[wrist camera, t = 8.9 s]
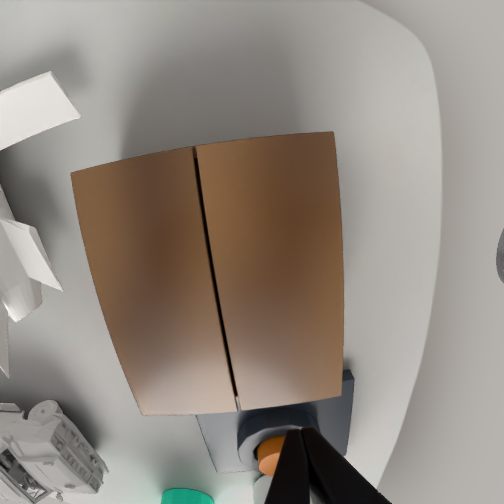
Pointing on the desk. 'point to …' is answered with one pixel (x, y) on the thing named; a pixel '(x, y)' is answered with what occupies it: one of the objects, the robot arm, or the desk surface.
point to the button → (269, 454)
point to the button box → (274, 427)
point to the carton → (157, 280)
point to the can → (263, 489)
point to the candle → (185, 497)
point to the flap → (278, 263)
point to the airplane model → (3, 223)
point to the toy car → (45, 454)
